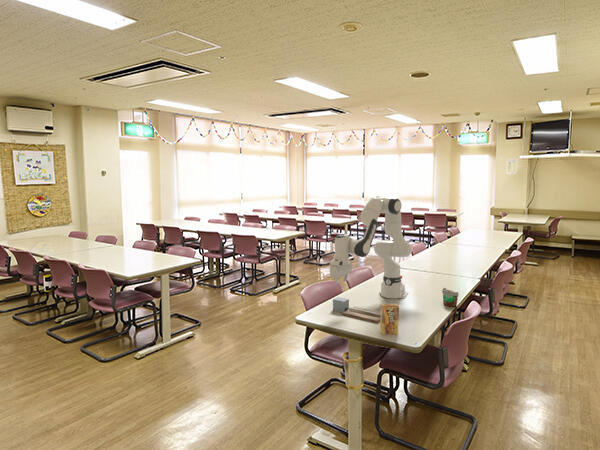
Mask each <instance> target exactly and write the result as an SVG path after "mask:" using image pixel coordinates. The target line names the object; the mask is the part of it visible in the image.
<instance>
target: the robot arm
mask: <svg viewBox="0 0 600 450" xmlns="http://www.w3.org/2000/svg"><path fill="white" fill-rule="evenodd" d="M401 209H402V202H401V200H400V199H399V198H397V197H392V196H375V197H371V198H370V199H369V201H367V202H366V204H365V206H364V207H363V209H362V210H361V212H360V215H359V218H360V221H361V223H362V224H363V225H364V226H366V230H365V232H364V234H363V237H362V239H356V238H352V237H350V236H349V235H348V234H347V233H346V234H345V233H340V234H337V235H336V236H335V238H334V256H333V258H332V259H331V260H330V261H329V265H330V267H329V277H330V278H332V279H333V280H334V283H335V284H334V285H339V284H340V281H339V280H338V279H339V278H340V277H343V276H344V277H343V279H342V280H343V282H347V280H348V276H349V274H351V273H352V271H353V269H352V262H351V260H350V258H349V254H350V255H354V256H357V257H360V258H365V257H367V256H368V254H369V253H370V251H371V245H372V243H373V241H374V238H375V234H376V232H377V230H378V226H379V223H378V219H379V217H380V216H381V213H382V214H385V215H384V233H385V235H387V236H389V237H390V238H392V240H378V241H376V242H375V244H374V245H373V246H374V247H373V251H374V253H375V254H376V256H378V257H379V258H380V260H381V262H382V263H383V265H382V266H383V276H382V282H381V286H380V291H379V292H378V294H379V295H381V297H383V298H387V299H405V298H406V297H407V296H408V294H409V291H408V290H406V285H405V284H404V283H403V282H402V279H403V275H401V265H400V263H398V262H397V261H395V260H394V259H393V258H407V257H410V256H411V254H412V252H413V247H412V245H411V244H410V243H409V242H408V240H407V239H405V237H404V236H403V232H402V212H401Z"/></svg>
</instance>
